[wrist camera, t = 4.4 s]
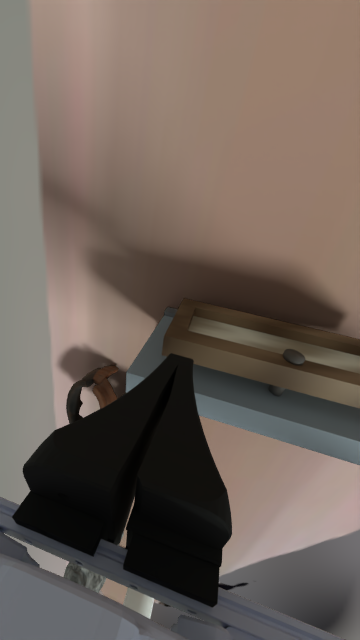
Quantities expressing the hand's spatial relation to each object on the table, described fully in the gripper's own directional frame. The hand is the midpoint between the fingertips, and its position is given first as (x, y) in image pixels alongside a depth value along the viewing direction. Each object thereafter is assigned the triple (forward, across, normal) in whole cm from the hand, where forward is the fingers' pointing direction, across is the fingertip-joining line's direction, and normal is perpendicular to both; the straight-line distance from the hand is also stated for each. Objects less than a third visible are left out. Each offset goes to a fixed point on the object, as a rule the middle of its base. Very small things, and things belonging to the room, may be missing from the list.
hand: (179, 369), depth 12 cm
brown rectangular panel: (+8, -6, +1) cm, 10 cm away
